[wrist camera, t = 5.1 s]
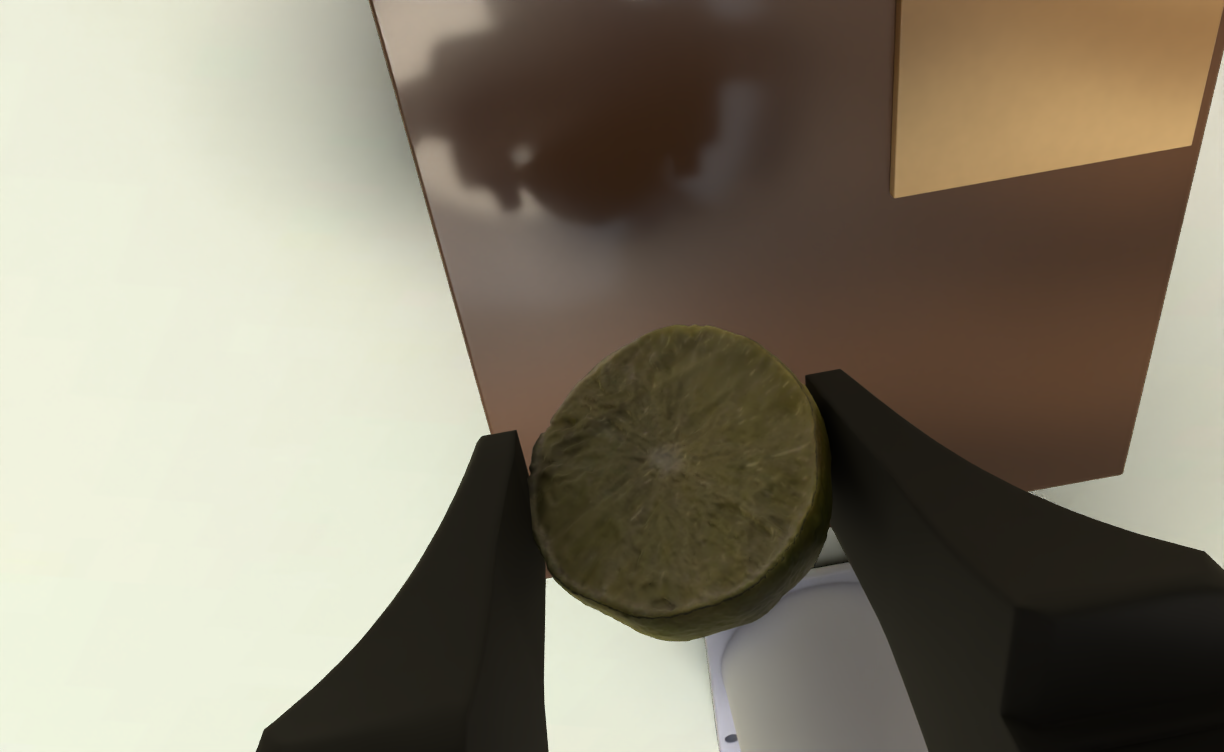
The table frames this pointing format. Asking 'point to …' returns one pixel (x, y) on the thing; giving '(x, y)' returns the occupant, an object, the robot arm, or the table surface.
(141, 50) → the table surface
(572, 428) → the lime
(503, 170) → the cutting board
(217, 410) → the table surface
